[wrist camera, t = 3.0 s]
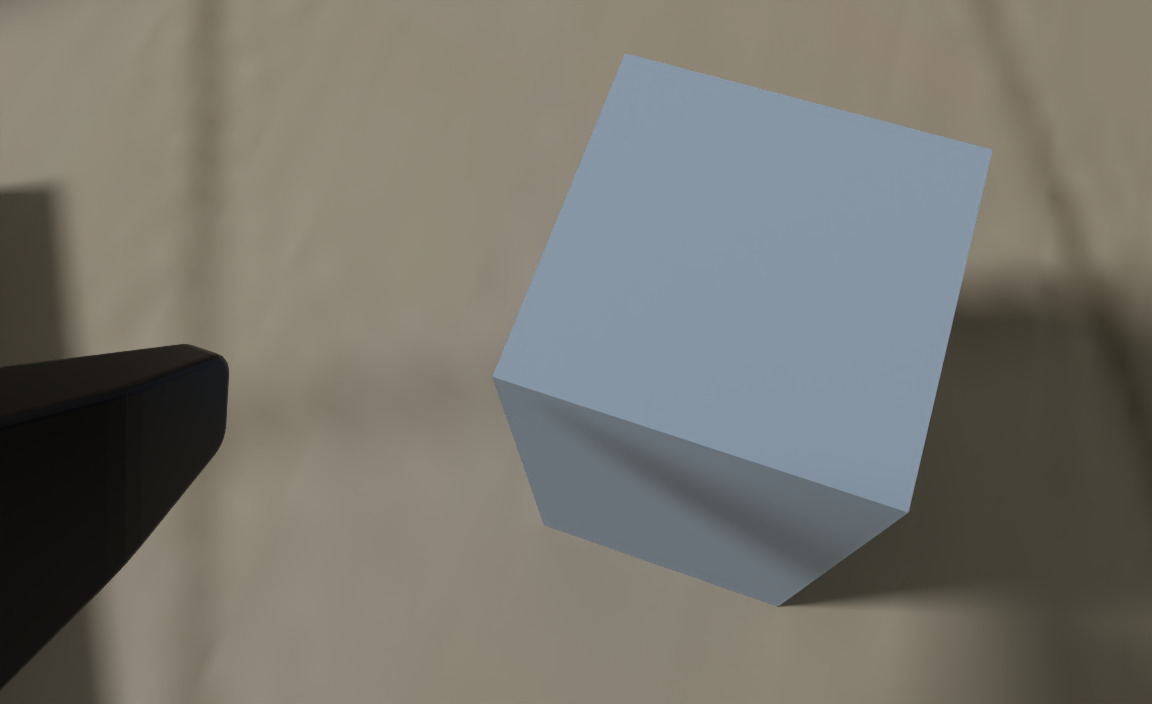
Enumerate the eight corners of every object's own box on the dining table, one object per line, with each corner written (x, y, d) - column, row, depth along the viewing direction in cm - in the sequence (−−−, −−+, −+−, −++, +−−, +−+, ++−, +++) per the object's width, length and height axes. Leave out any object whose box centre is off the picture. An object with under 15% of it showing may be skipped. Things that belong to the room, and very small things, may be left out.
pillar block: (543, 524, 20) (492, 376, 11) (620, 316, 21) (625, 53, 13) (777, 606, 19) (907, 512, 11) (838, 383, 21) (992, 150, 12)
